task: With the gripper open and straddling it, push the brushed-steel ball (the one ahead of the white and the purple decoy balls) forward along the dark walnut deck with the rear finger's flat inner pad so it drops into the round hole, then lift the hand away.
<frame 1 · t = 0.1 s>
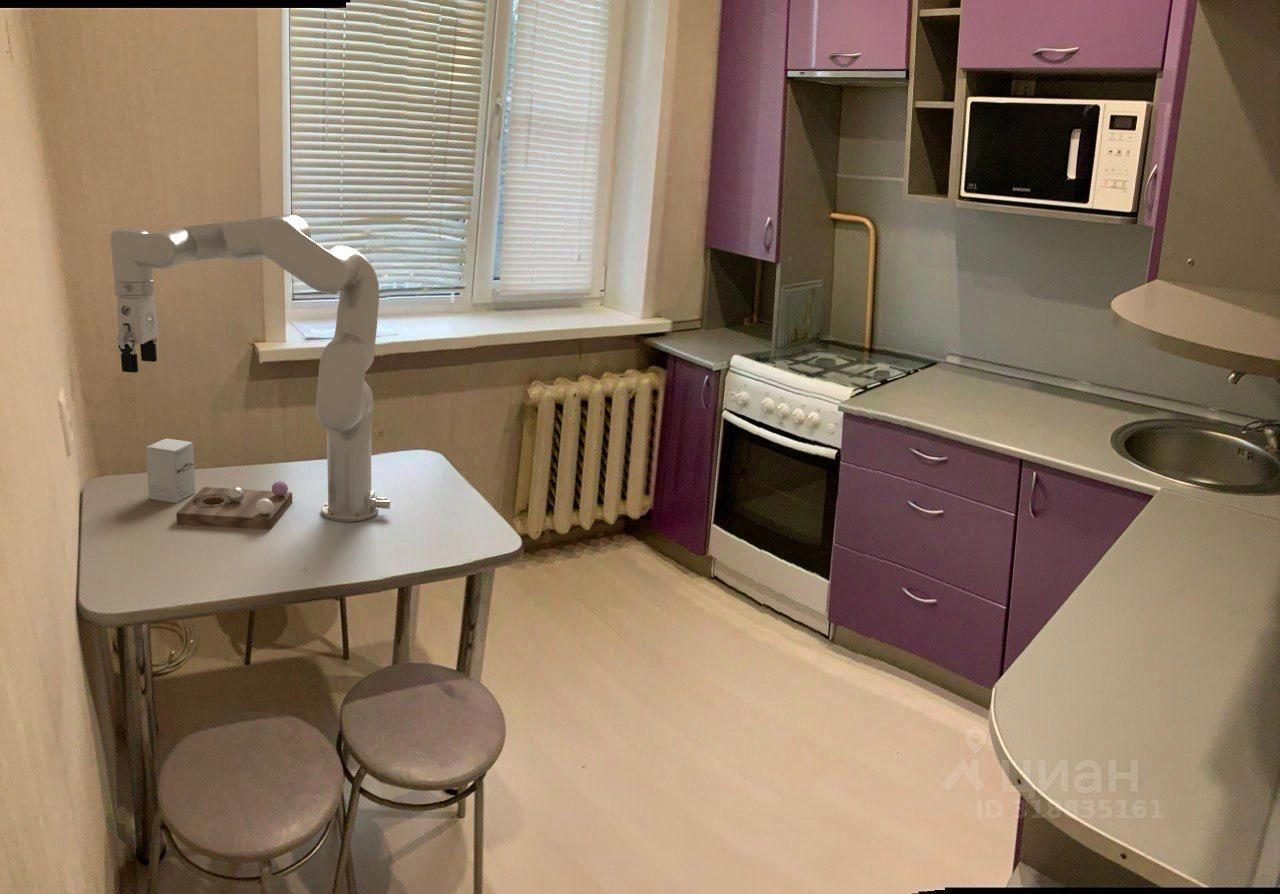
hand: (139, 366, 226), 31 cm above the table, fingers open, 9 cm apart
supplement box: (172, 497, 238), on the table
deck: (236, 512, 232), on the table
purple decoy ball: (279, 488, 236), point 4 cm above the table, touching deck
steel ball: (235, 495, 231), point 4 cm above the table, touching deck
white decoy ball: (264, 506, 226), point 4 cm above the table, touching deck
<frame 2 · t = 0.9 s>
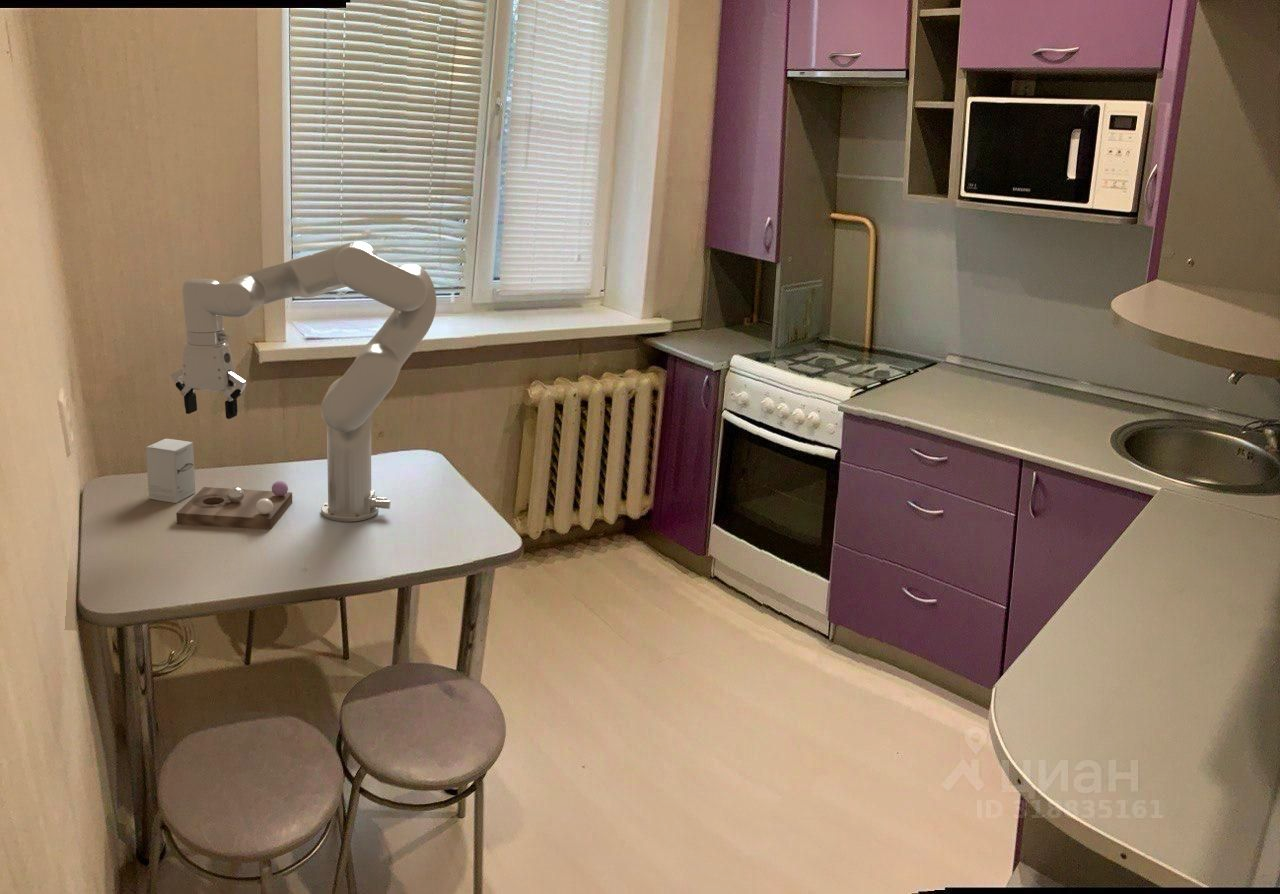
hand: (211, 414, 226), 22 cm above the table, fingers open, 9 cm apart
nothing on the table moved.
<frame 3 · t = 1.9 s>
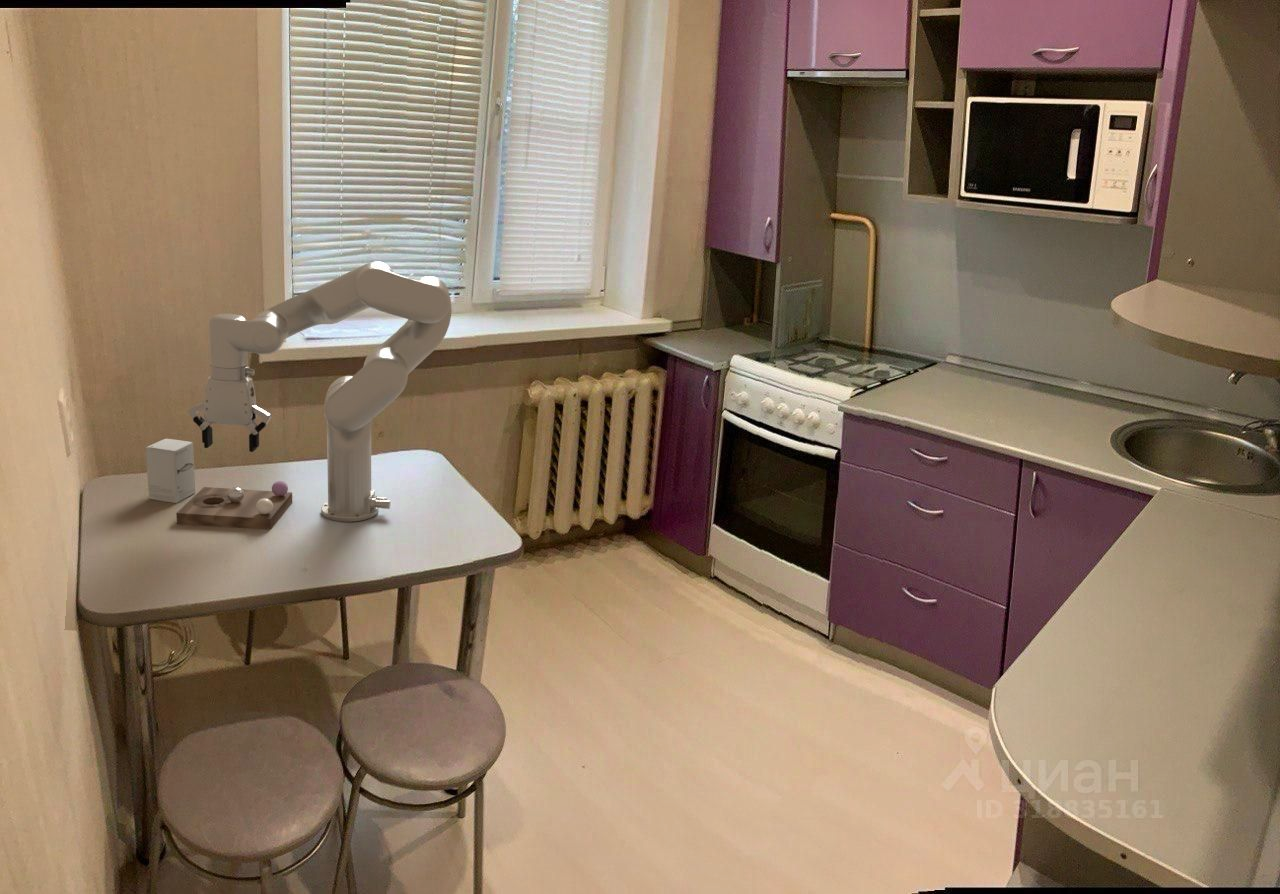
hand: (230, 448, 227), 15 cm above the table, fingers open, 9 cm apart
nothing on the table moved.
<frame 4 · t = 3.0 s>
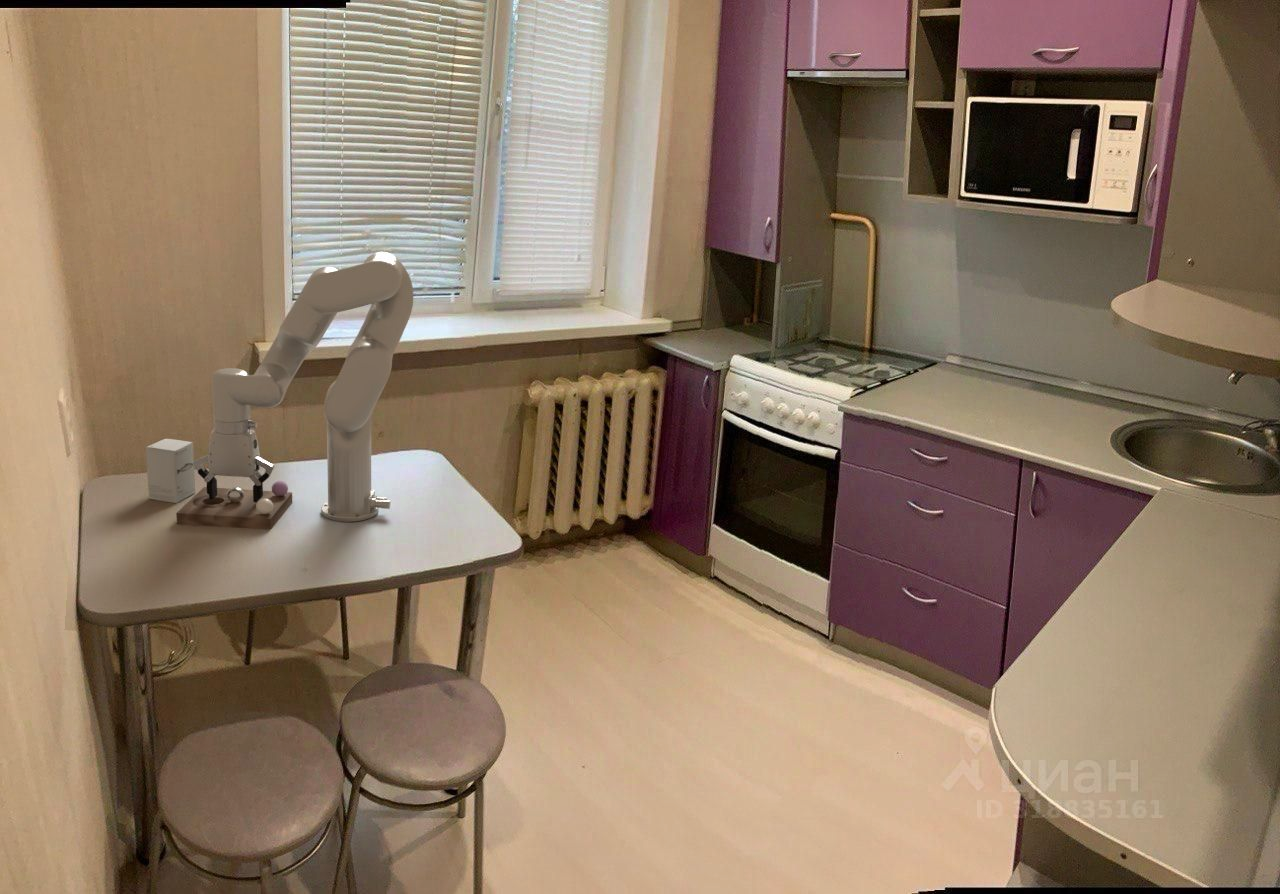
hand: (235, 498, 231), 3 cm above the table, fingers open, 9 cm apart
nothing on the table moved.
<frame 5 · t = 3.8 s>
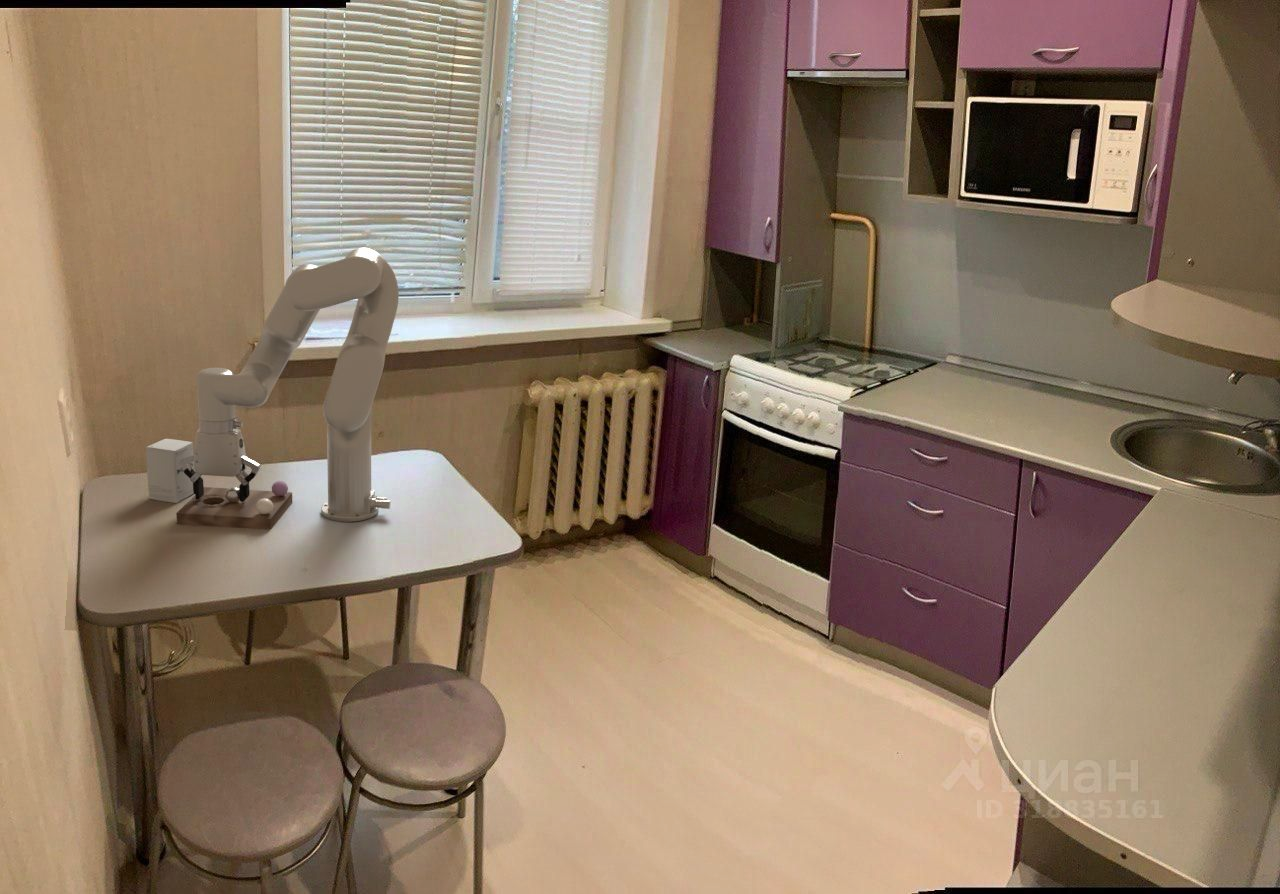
hand: (221, 498, 231), 3 cm above the table, fingers open, 9 cm apart
steel ball: (234, 494, 231), point 4 cm above the table, tilted 13°, touching deck
everything else where it was.
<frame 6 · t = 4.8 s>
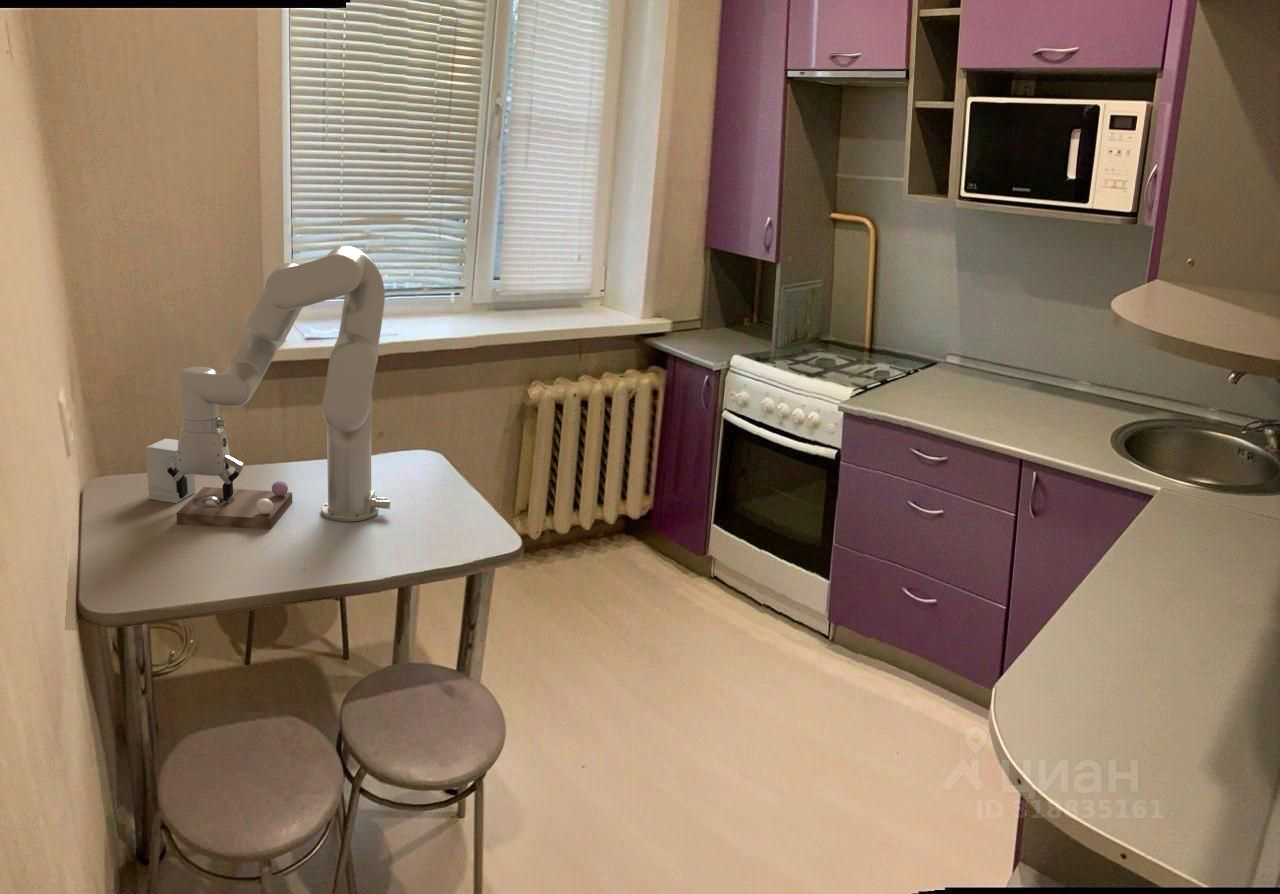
hand: (205, 497, 231), 3 cm above the table, fingers open, 9 cm apart
steel ball: (211, 504, 231), point 2 cm above the table, tilted 162°
everything else where it was.
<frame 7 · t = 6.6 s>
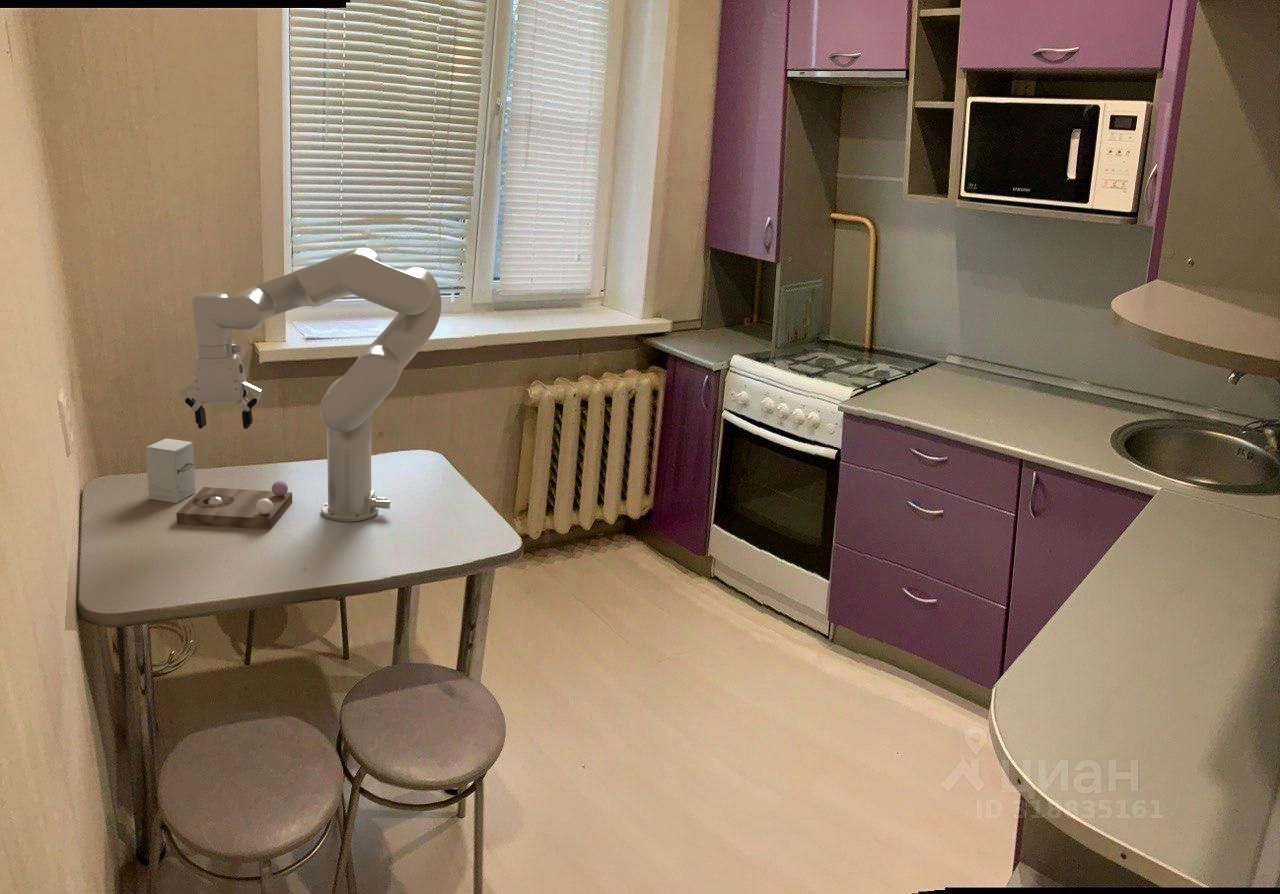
hand: (225, 426, 228), 19 cm above the table, fingers open, 9 cm apart
steel ball: (215, 504, 231), point 2 cm above the table, tilted 169°
everything else where it was.
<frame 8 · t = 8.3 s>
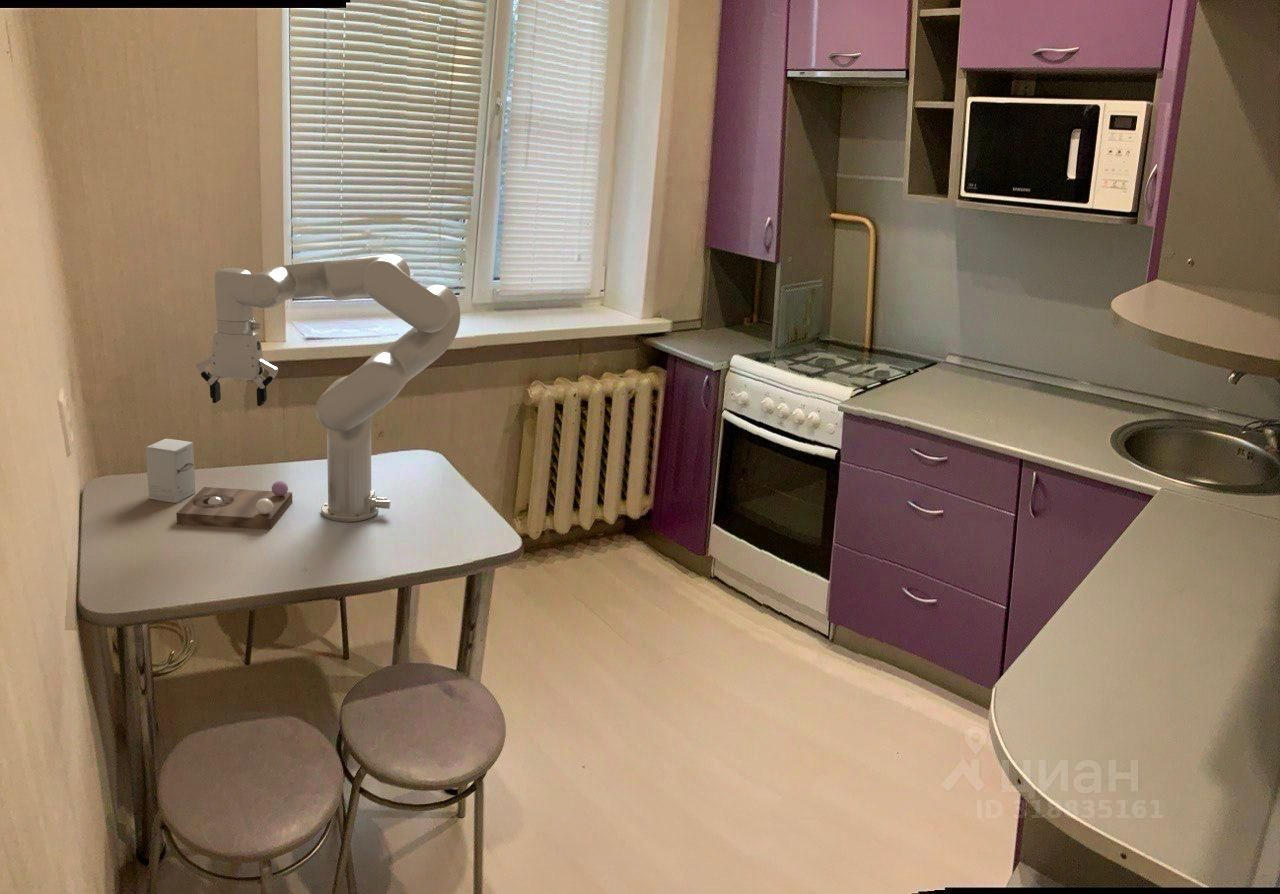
hand: (238, 402, 229), 24 cm above the table, fingers open, 9 cm apart
nothing on the table moved.
at the end: steel ball 0.4 cm from the target spot in the deck, point 1.7 cm above the deck's base; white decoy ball moved 0.0 cm from its start; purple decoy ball moved 0.0 cm from its start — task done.
